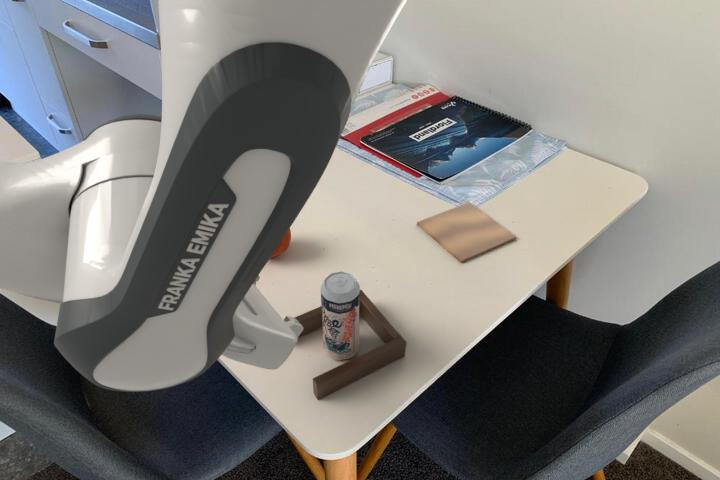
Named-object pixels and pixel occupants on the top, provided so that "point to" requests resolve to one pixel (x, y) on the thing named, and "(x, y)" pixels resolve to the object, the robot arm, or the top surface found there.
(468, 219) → the cork mat
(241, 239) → the robot arm
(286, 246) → the fruit
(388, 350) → the can rack
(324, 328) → the beer can
